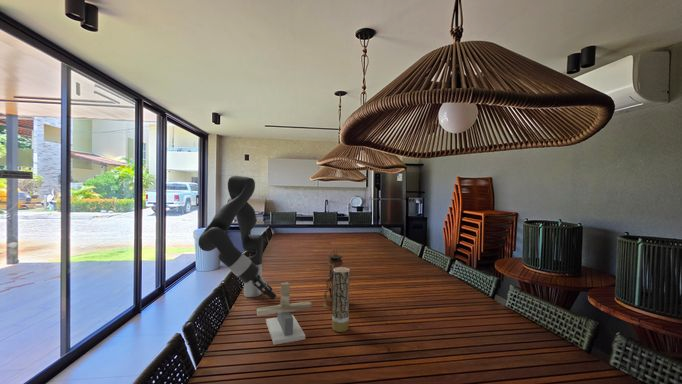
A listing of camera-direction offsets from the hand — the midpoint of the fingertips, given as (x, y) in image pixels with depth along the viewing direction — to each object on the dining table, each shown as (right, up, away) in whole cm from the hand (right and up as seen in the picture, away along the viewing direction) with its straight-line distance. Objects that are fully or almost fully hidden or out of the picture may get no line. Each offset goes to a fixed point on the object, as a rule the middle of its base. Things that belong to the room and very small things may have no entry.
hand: (272, 294), depth 113 cm
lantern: (+25, -17, +30) cm, 43 cm away
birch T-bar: (+4, -7, +2) cm, 9 cm away
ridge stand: (+4, -15, +2) cm, 16 cm away
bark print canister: (+27, -16, +4) cm, 32 cm away
